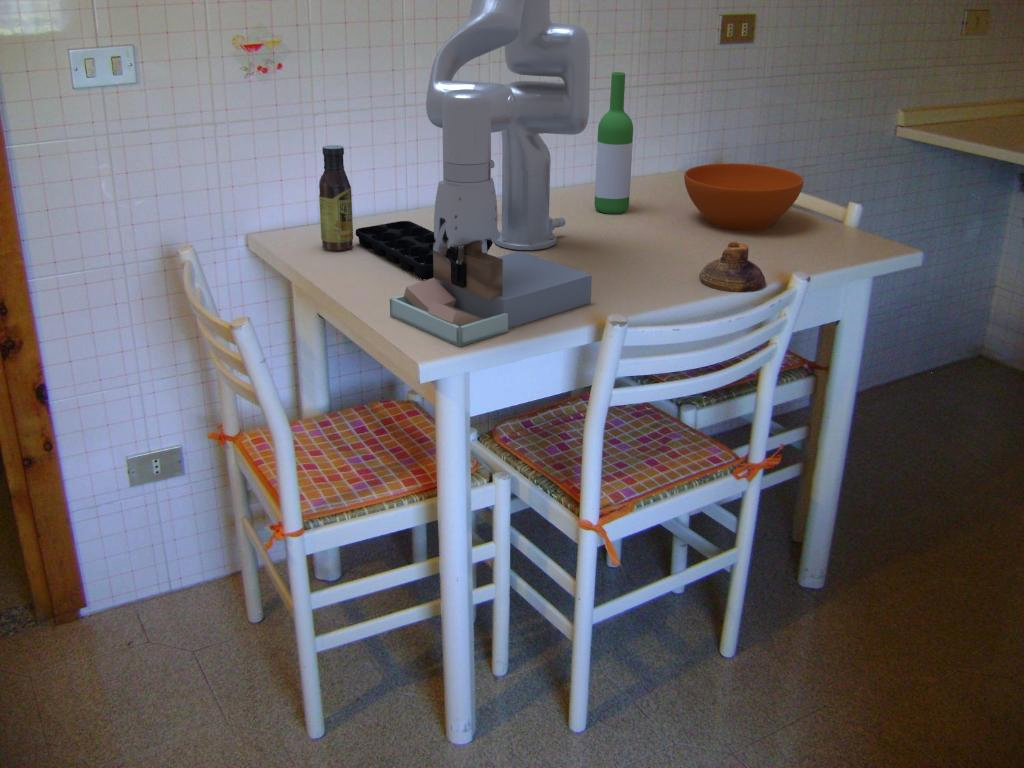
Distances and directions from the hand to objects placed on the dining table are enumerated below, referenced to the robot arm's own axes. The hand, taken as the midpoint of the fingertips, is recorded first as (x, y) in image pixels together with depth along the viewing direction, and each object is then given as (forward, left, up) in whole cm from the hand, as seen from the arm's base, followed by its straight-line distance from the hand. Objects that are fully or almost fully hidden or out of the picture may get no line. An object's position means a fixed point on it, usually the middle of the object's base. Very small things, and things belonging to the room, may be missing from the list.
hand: (467, 282), depth 174 cm
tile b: (+6, +5, -2) cm, 8 cm away
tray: (+5, +1, -6) cm, 8 cm away
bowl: (-83, -7, -6) cm, 84 cm away
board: (-10, 0, -6) cm, 12 cm away
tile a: (+4, -5, -4) cm, 8 cm away
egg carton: (-13, -31, -6) cm, 34 cm away
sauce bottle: (-5, -46, -6) cm, 47 cm away
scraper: (0, 0, -1) cm, 1 cm away
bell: (-48, +18, -6) cm, 52 cm away
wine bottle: (-68, -31, -6) cm, 75 cm away
